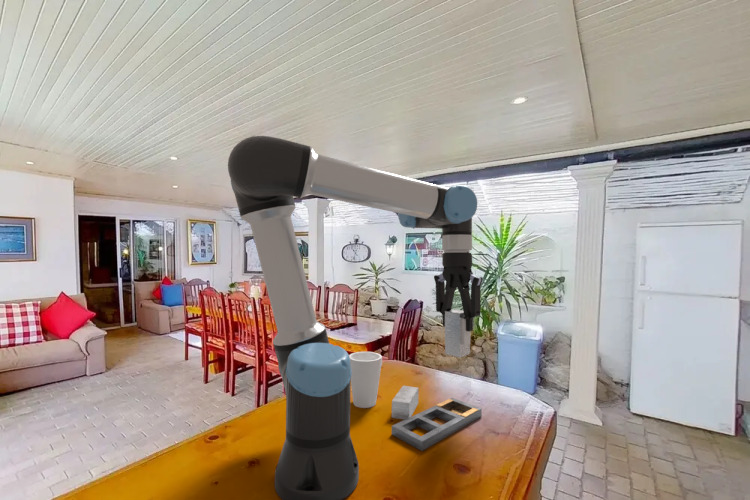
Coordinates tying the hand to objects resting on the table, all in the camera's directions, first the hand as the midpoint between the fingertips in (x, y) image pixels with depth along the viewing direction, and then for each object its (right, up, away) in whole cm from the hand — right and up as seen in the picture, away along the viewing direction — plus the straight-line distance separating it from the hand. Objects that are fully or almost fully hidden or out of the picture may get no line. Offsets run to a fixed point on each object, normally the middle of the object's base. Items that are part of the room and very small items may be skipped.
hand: (457, 341), depth 89 cm
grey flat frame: (-6, -19, -5) cm, 20 cm away
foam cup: (-24, -19, +7) cm, 32 cm away
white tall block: (0, -3, 0) cm, 3 cm away
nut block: (-13, -19, +3) cm, 24 cm away
